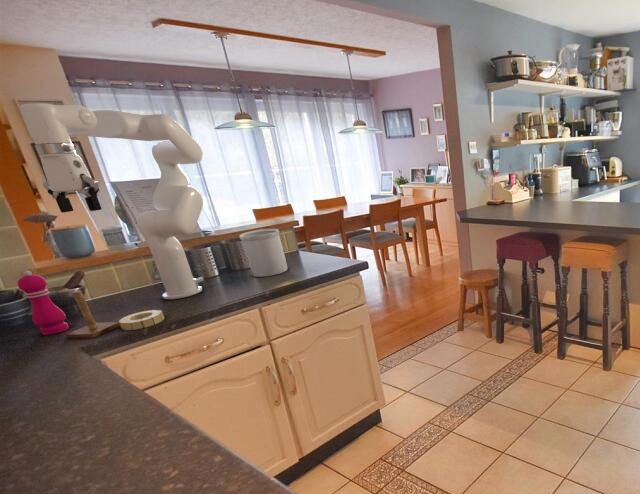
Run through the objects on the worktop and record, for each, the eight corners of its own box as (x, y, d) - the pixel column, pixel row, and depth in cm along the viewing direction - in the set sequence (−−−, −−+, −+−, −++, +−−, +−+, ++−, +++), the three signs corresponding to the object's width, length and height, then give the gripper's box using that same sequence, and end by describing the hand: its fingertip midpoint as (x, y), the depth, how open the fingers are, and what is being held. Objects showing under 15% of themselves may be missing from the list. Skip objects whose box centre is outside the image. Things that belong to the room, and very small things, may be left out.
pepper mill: (51, 336, 134) (20, 274, 127) (33, 335, 136) (1, 274, 128) (77, 326, 141) (49, 267, 133) (60, 326, 142) (31, 267, 135)
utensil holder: (262, 279, 179) (250, 237, 173) (244, 275, 187) (232, 234, 181) (295, 269, 191) (285, 229, 184) (277, 266, 198) (266, 227, 192)
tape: (143, 316, 146) (140, 310, 145) (172, 316, 144) (169, 309, 144) (112, 330, 136) (109, 323, 135) (144, 329, 134) (141, 322, 134)
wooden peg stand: (96, 325, 140) (78, 287, 135) (121, 325, 139) (104, 286, 134) (67, 338, 132) (47, 297, 127) (93, 337, 131) (74, 296, 126)
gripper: (96, 148, 127) (118, 208, 133) (45, 152, 129) (69, 210, 135) (69, 149, 120) (94, 211, 126) (15, 153, 122) (43, 214, 128)
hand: (81, 211), depth 131 cm, fingers open, 9 cm apart
